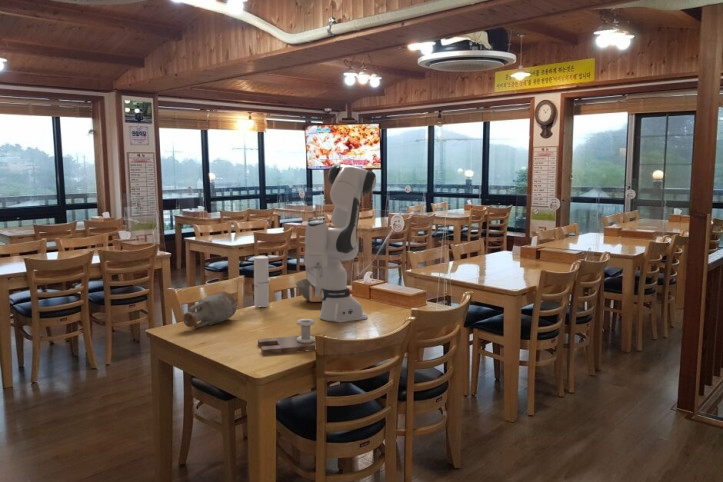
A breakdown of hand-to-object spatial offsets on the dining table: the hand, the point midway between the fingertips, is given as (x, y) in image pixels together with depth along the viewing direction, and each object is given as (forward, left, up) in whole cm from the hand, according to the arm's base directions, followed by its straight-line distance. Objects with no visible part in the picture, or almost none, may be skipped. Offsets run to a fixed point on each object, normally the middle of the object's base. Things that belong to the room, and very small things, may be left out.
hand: (315, 295), depth 232 cm
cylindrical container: (+13, -64, -20) cm, 68 cm away
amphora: (+38, -39, -20) cm, 58 cm away
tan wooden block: (0, 0, -2) cm, 2 cm away
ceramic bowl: (-17, -69, -20) cm, 74 cm away
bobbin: (+5, +4, -17) cm, 18 cm away
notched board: (+11, +4, -19) cm, 22 cm away
